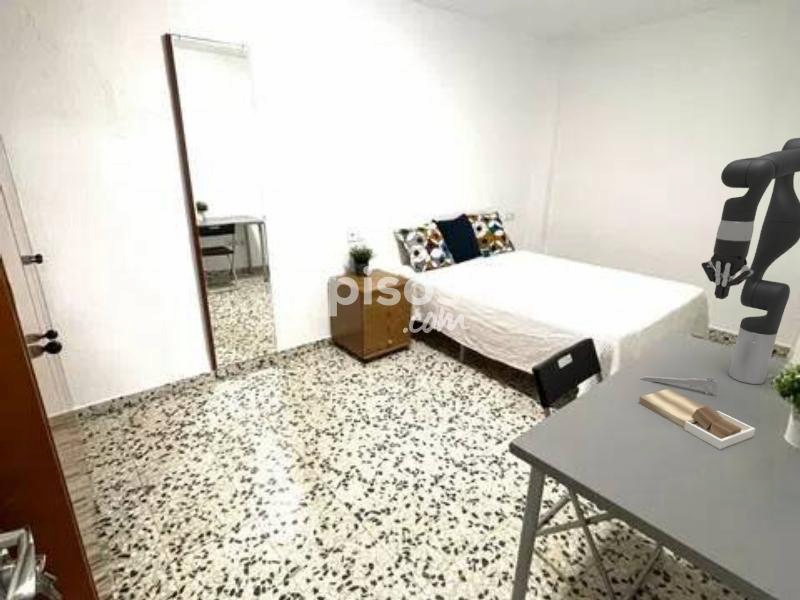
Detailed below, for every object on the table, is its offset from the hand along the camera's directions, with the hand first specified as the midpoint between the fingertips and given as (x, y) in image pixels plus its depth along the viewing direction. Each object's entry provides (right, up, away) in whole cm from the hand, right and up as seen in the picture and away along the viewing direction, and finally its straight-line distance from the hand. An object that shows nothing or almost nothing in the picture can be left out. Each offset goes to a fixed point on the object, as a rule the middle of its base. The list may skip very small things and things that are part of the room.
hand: (720, 298), depth 117 cm
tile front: (-6, -36, -9) cm, 38 cm away
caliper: (-2, -29, +16) cm, 33 cm away
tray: (-6, -36, -7) cm, 37 cm away
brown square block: (-8, -34, -5) cm, 35 cm away
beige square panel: (-11, -33, +3) cm, 35 cm away
